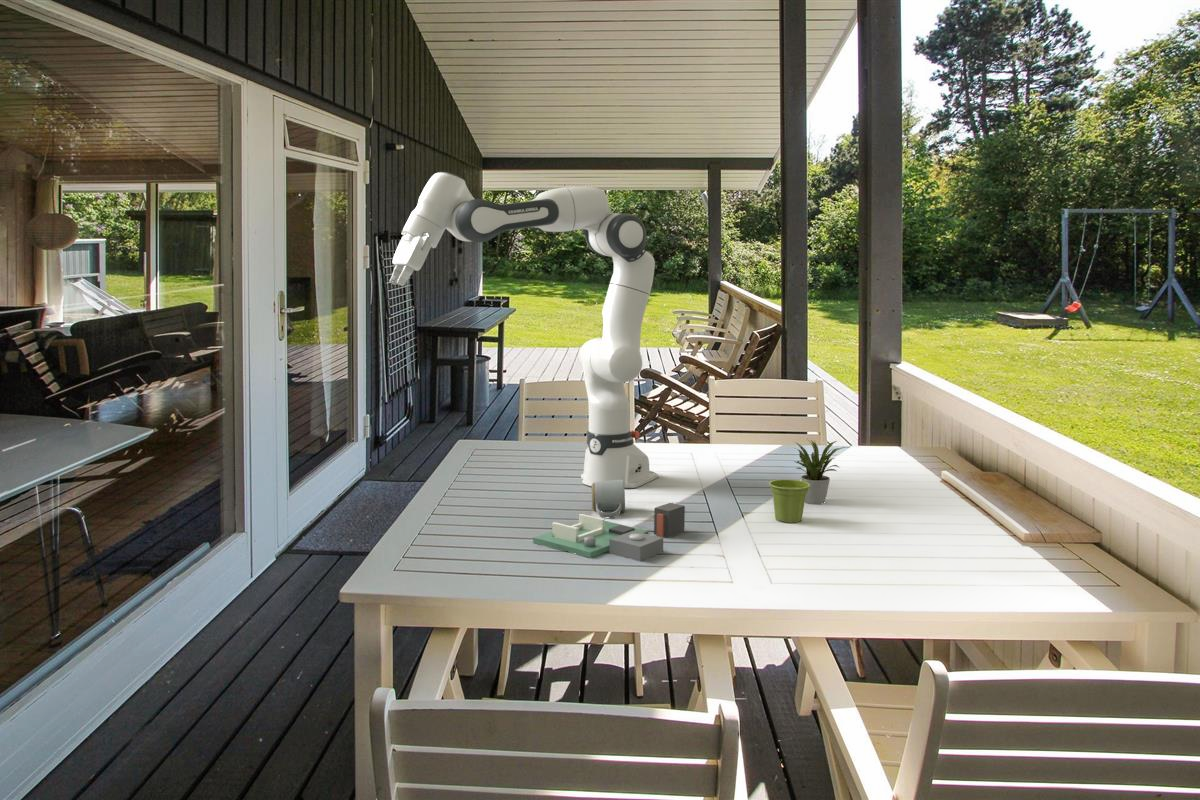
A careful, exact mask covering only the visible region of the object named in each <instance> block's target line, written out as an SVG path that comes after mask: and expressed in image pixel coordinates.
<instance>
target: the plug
mask: <svg viewBox="0 0 1200 800" xmlns="http://www.w3.org/2000/svg"><path fill="white" fill-rule="evenodd" d="M685 508H686V506H685V505H684V504H678V503H674V502H668V503H666V504H663V505H660V506H656V507H654V510H653V511H654V513H653V514H654V515H653V535H654V536H657V537H662V538H671V537H674V536H677V535H679V534H683V533H685V516H686V515H685V512H686V509H685Z"/></svg>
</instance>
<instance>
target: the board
mask: <svg viewBox="0 0 1200 800" xmlns="http://www.w3.org/2000/svg"><path fill="white" fill-rule="evenodd" d="M631 531H636V532H640V533H645V534H649V533H650V532H649V530H647V529H642V528H639V527H638V528H637V527H633V526H629V525H625V524H620V523H616V522H612V521H607V520H606V518H603V517H596V516H593V515H588V514H584V513H579V514H578V522H577V523H572V524H571V525H567V524H563V523H560V522H556V521H553V522H551V531H549V532H546V533H542V534H538V535H537V536H534V537H532V543H533V544H536V545H539V544H540V546H543V545H544V547H547V548H551V547H552V549H554V548H556V549H555V550H558V549H560V550H559V551H562V550H564V551H563V552H566V551H568V552H567V553H570V552H572V553H571V554H573V553H576V554H575V555H577V554H579V555H578V556H581V555H582V556H581V557H585V558H588V557H589V559H591V558H594V557H597V556H599V555H602V554H604V552H605V553H607V551H608V552H609V539H611V538H614V537H617V536H620V535H623V534H625V533H628V532H631ZM649 535H650V534H649ZM596 555H597V556H596Z"/></svg>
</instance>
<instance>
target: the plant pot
mask: <svg viewBox="0 0 1200 800" xmlns="http://www.w3.org/2000/svg"><path fill="white" fill-rule="evenodd" d="M768 486H770V491H771V492H772V500H773V509H774V519H775V520H776V521H779V522H780V521H782V522H784V523H789V524H790V523H793V524H795V523H798V522H799V521H800V522H801V521H802V520H803V515H804V510H805V509H804V508H805V503H806V502H805V498H806V493H807V492H808V488H809V487H810V484H809V483H807V482H804V481H802V480H800V479H799V480H798V479H785V478H784V479H782V478H781V479H774V480H771V481H769V482H768Z"/></svg>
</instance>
